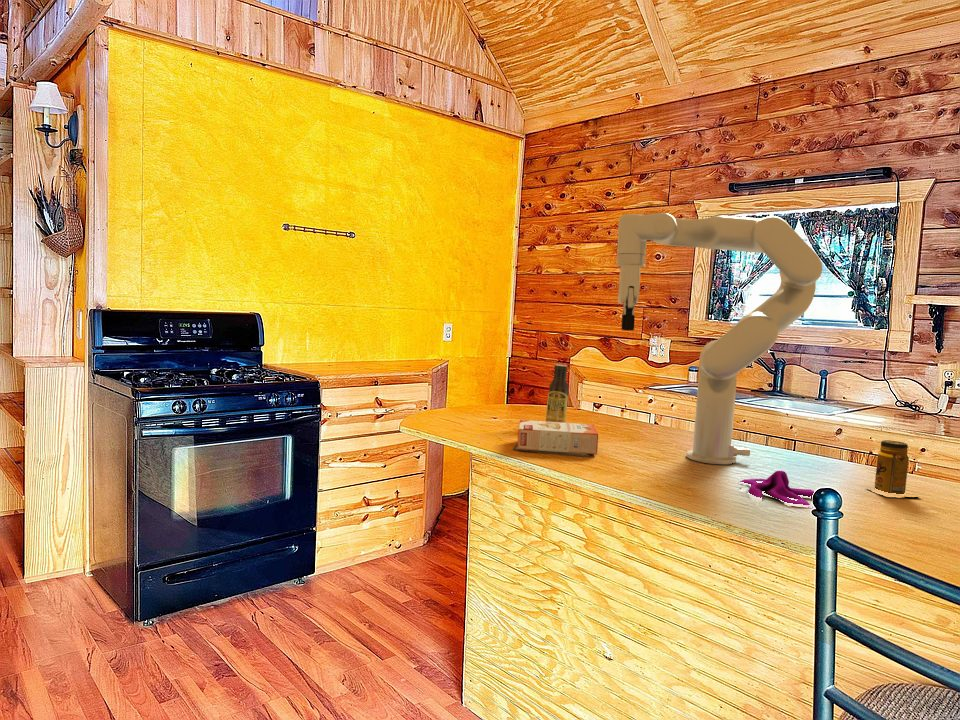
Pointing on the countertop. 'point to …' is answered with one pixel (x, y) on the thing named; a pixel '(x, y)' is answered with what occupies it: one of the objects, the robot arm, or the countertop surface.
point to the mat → (552, 452)
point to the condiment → (892, 467)
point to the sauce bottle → (558, 396)
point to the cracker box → (557, 437)
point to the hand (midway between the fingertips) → (627, 330)
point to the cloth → (778, 488)
